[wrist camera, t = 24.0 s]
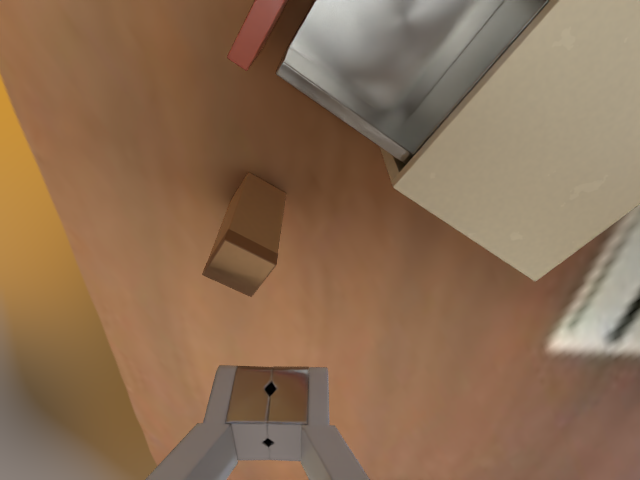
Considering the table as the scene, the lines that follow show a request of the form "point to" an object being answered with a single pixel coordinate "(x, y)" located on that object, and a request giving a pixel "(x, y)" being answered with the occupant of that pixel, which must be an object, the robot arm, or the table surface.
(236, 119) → the table surface
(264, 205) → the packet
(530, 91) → the beige cabinet housing
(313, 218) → the table surface
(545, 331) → the table surface
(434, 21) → the rack drawer
